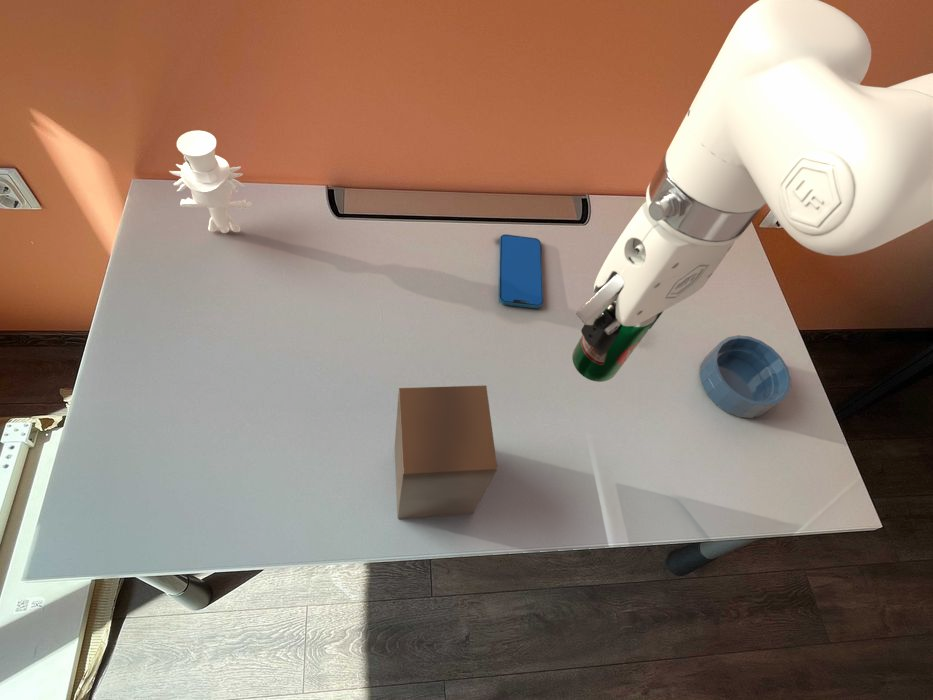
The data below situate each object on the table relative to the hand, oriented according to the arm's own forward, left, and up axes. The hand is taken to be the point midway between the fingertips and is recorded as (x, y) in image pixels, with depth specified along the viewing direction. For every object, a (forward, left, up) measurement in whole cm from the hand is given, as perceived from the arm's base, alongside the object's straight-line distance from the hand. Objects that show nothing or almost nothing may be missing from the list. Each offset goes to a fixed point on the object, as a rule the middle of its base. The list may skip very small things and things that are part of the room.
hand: (616, 329), depth 56 cm
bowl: (-8, -34, -31) cm, 47 cm away
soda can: (0, 0, -7) cm, 7 cm away
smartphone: (+27, -16, -31) cm, 44 cm away
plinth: (+4, +16, -31) cm, 35 cm away
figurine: (+57, +23, -31) cm, 69 cm away
